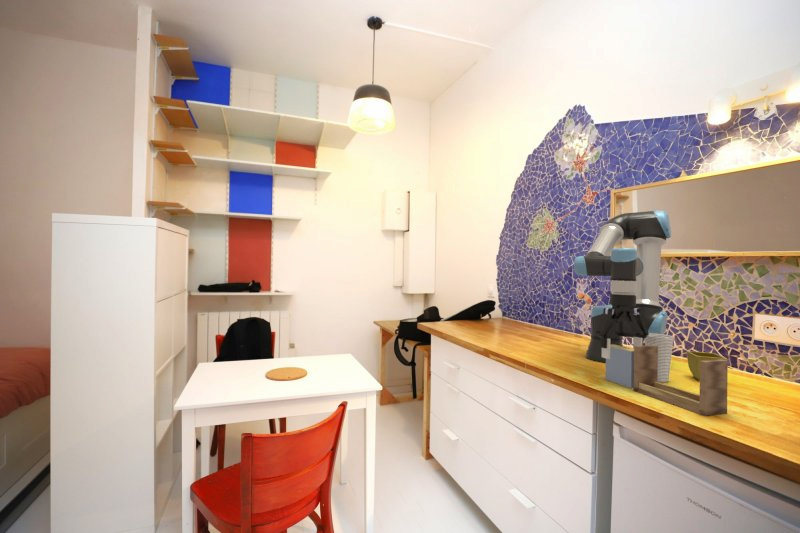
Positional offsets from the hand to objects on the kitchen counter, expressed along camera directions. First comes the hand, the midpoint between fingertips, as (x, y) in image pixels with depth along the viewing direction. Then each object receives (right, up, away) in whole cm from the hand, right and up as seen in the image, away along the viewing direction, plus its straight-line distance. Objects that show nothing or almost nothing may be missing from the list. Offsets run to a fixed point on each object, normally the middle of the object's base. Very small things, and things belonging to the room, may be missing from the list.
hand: (621, 357), depth 124 cm
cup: (+15, -9, +5) cm, 19 cm away
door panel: (0, -9, 0) cm, 9 cm away
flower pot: (+33, -10, +6) cm, 35 cm away
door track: (+6, -9, -16) cm, 19 cm away
